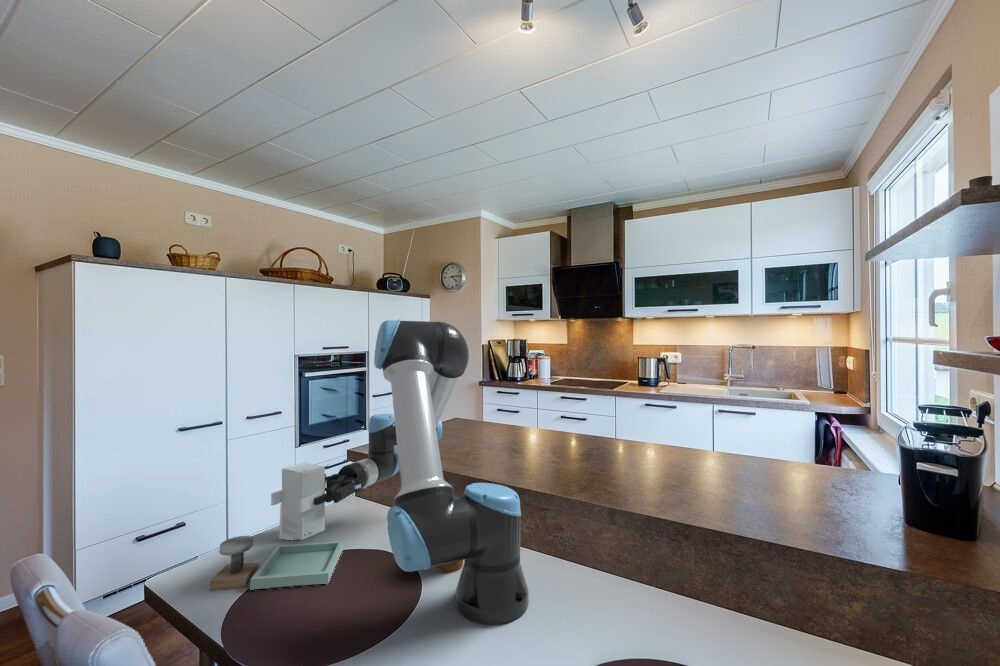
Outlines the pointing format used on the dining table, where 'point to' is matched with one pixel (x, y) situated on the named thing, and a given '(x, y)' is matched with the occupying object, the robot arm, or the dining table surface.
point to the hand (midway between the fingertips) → (286, 502)
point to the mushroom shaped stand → (235, 565)
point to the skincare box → (295, 487)
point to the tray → (298, 565)
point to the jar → (281, 535)
